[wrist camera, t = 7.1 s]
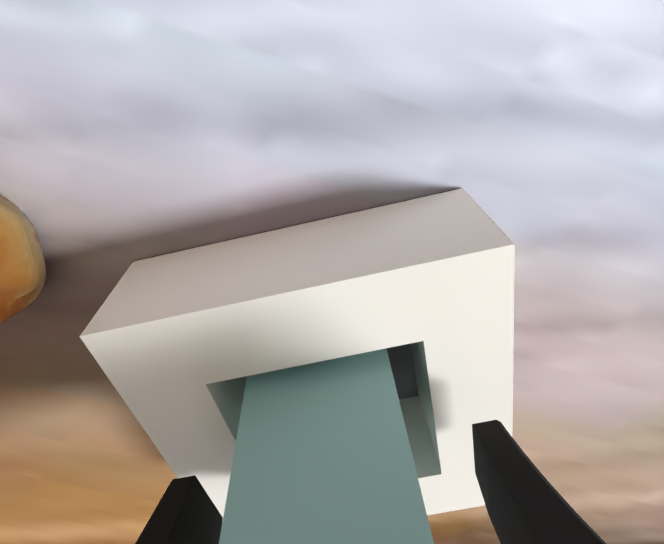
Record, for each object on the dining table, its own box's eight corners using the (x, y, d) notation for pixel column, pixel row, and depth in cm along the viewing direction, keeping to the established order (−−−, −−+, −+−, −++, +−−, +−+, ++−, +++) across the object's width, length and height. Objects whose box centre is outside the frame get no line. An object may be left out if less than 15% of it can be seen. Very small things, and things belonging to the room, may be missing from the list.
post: (389, 375, 15) (457, 664, 8) (288, 394, 16) (274, 691, 9) (372, 290, 13) (442, 577, 6) (257, 314, 14) (206, 615, 7)
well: (475, 416, 17) (511, 500, 14) (240, 460, 18) (227, 549, 15) (462, 187, 12) (514, 244, 9) (133, 261, 13) (79, 336, 10)
